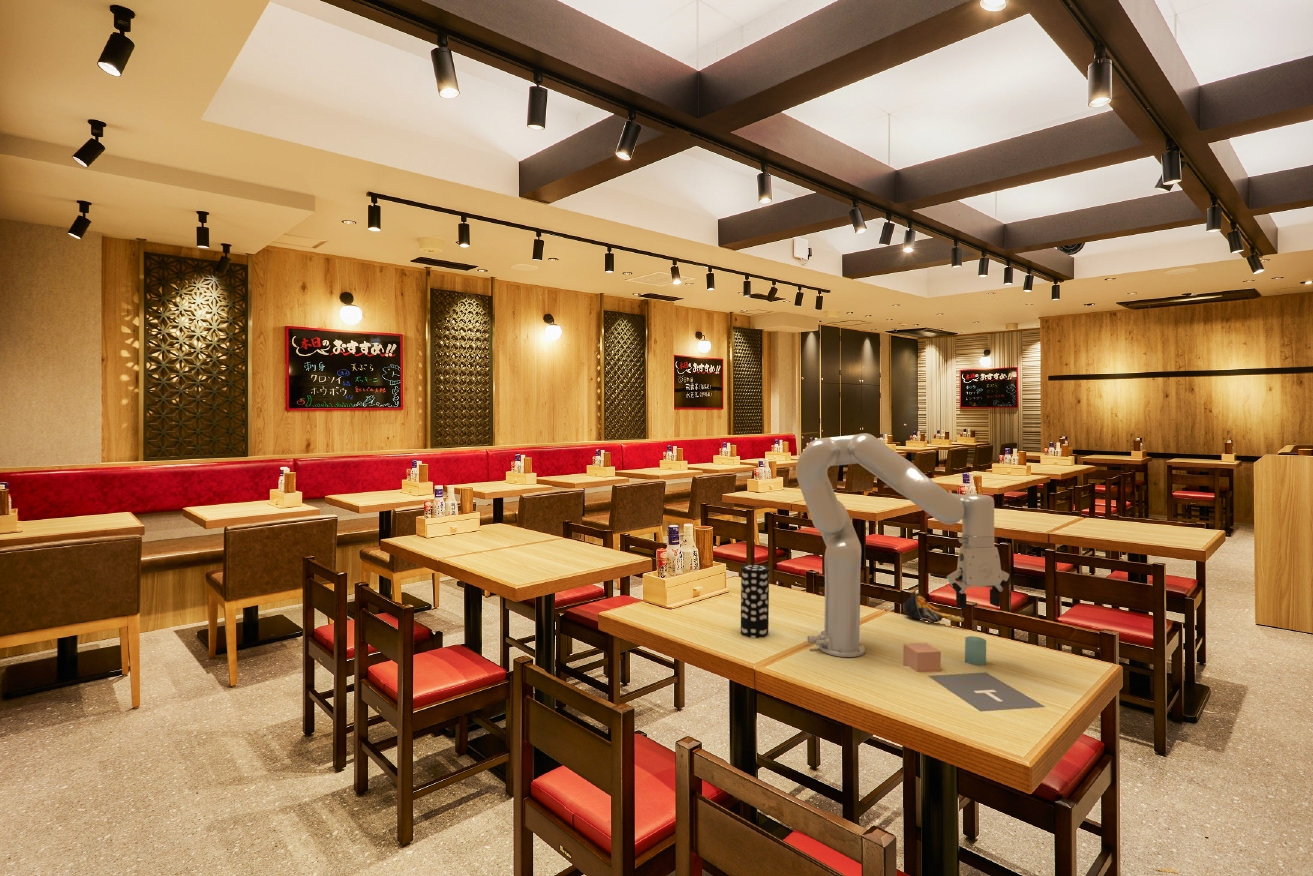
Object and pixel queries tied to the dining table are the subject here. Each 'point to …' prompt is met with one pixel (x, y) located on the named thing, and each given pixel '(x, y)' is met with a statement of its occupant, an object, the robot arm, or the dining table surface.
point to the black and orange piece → (925, 610)
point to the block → (921, 657)
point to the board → (985, 692)
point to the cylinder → (975, 650)
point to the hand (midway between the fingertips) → (978, 606)
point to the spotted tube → (754, 601)
